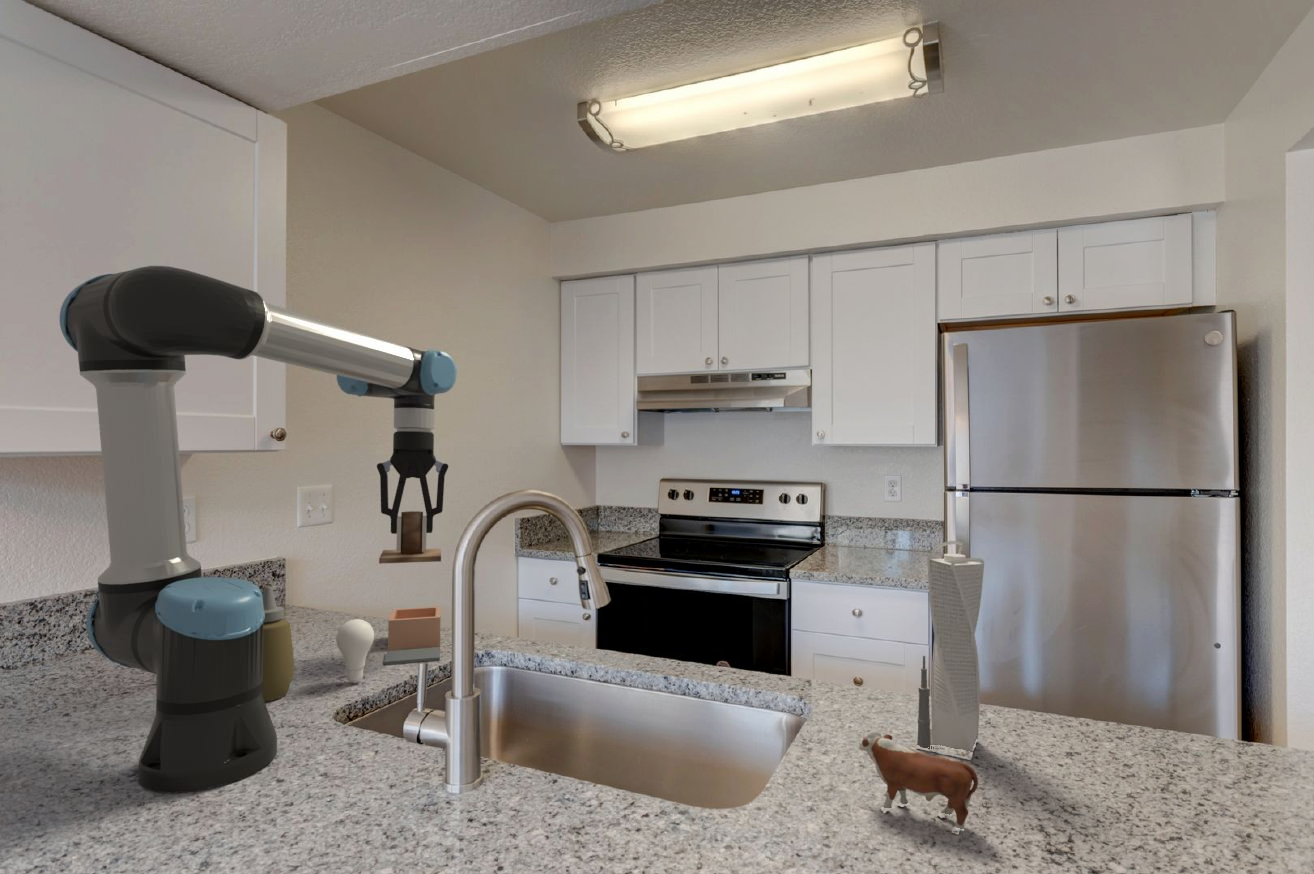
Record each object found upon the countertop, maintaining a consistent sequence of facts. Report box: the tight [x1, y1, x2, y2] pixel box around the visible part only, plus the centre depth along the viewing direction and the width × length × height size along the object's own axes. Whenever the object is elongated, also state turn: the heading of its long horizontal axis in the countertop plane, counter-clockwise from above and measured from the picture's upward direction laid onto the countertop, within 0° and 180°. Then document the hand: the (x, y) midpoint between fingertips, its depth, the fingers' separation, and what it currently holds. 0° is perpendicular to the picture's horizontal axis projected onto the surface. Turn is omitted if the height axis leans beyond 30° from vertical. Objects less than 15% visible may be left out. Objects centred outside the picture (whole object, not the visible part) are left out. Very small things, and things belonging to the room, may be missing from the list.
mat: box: [383, 646, 441, 666], centre depth 136 cm, size 10×7×1 cm
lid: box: [378, 510, 442, 564], centre depth 136 cm, size 11×11×9 cm
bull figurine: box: [858, 729, 979, 830], centre depth 79 cm, size 4×13×8 cm, turn 51°
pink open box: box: [387, 606, 442, 651], centre depth 146 cm, size 10×10×6 cm
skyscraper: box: [916, 540, 985, 752], centre depth 97 cm, size 8×8×28 cm
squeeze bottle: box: [262, 586, 296, 702], centre depth 114 cm, size 8×8×18 cm
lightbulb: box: [335, 618, 375, 684], centre depth 121 cm, size 6×6×11 cm
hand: (411, 549), depth 136 cm, fingers closed on lid, 4 cm apart
